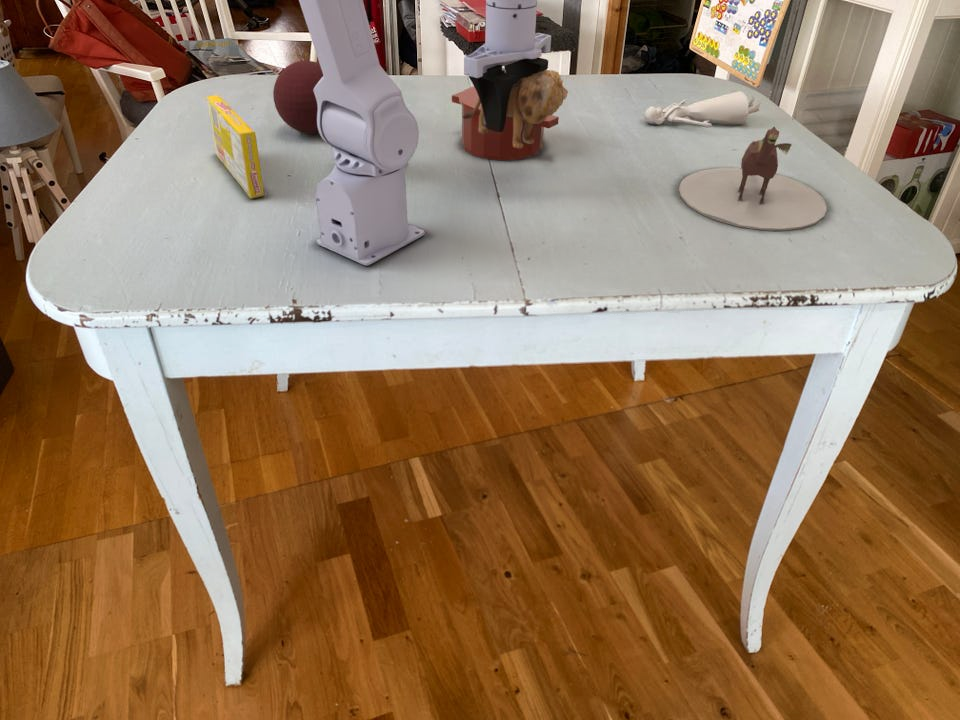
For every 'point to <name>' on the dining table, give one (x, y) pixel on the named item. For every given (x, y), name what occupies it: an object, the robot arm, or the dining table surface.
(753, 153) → the brown figure on disc
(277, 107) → the decorative ball
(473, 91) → the pot lid
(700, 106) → the woman figurine
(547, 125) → the pot
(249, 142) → the candy box
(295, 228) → the dining table surface
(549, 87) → the lion figurine
